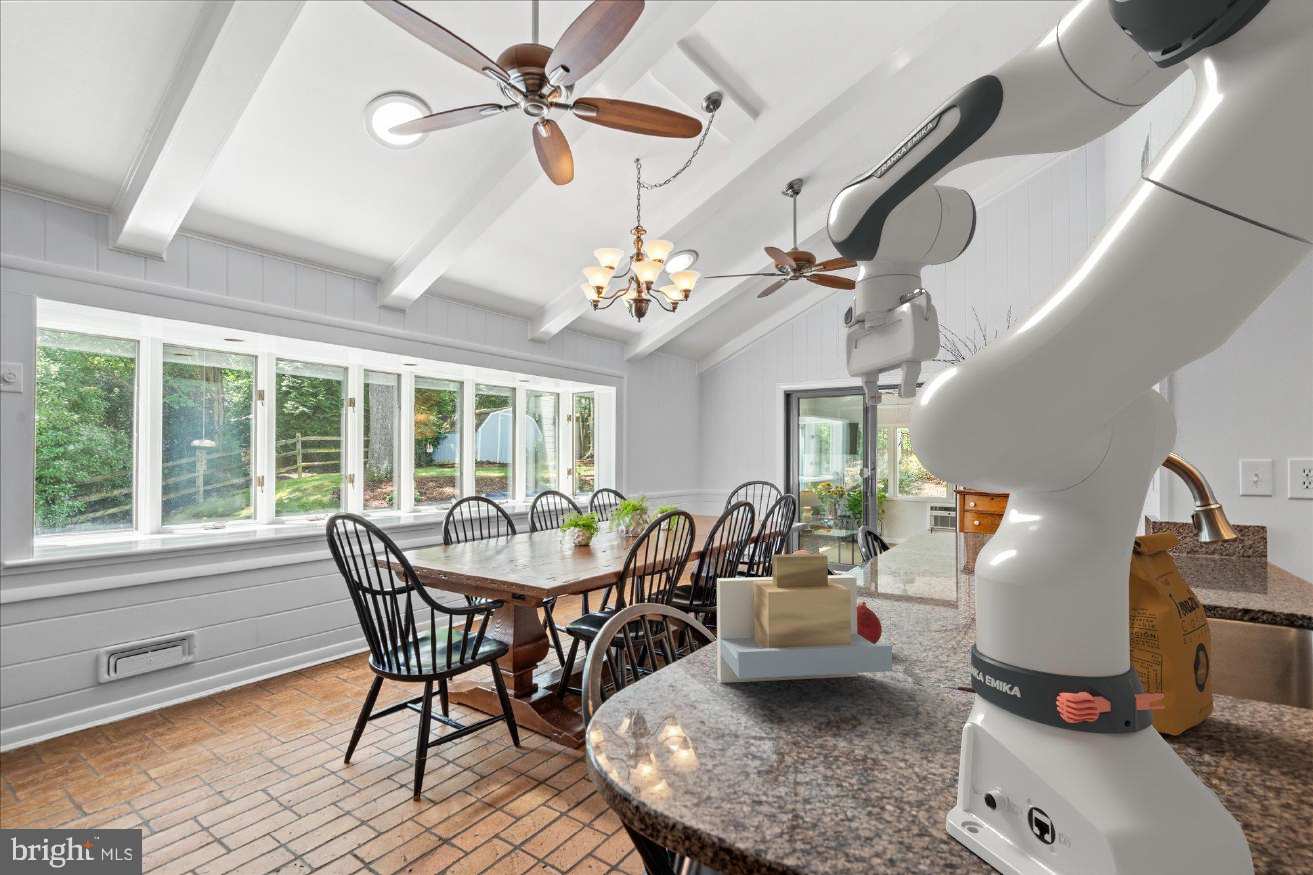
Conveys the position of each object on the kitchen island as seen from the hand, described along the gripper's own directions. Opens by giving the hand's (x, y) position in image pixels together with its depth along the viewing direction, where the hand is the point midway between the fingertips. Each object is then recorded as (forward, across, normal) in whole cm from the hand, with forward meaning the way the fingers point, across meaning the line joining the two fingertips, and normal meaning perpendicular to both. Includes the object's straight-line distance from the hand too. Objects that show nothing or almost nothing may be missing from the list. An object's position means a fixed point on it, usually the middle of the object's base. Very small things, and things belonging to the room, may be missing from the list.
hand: (889, 401), depth 88 cm
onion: (+39, +14, -2) cm, 42 cm away
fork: (+40, -4, -8) cm, 41 cm away
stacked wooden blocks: (+33, -1, +14) cm, 36 cm away
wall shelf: (+39, -1, +14) cm, 42 cm away
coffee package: (+39, -16, -24) cm, 49 cm away
